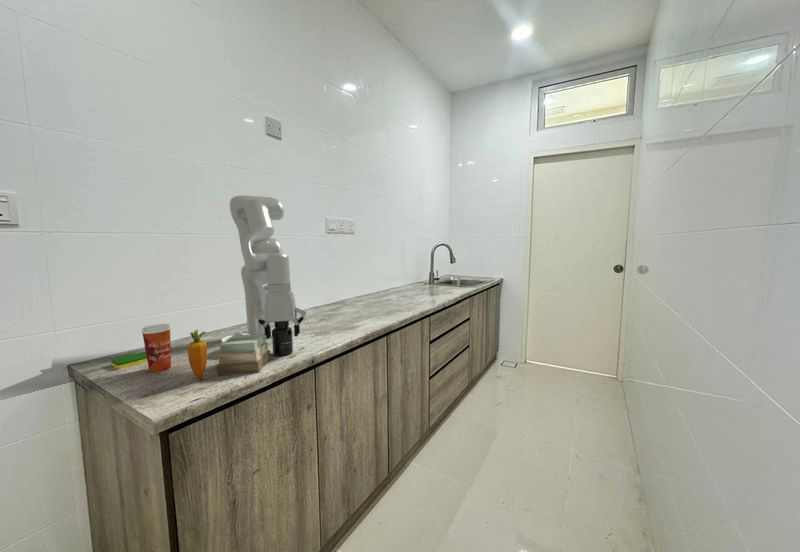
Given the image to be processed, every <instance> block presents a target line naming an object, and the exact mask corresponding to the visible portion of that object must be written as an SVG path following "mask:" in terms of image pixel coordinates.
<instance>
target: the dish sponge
mask: <svg viewBox="0 0 800 552" xmlns="http://www.w3.org/2000/svg"><path fill="white" fill-rule="evenodd" d="M142 363H143V364H146V363H148V361H147V356H146V351H143V352H138V353H135V354H130V355H126V356H123V357H118V358H113V359H111V360H110V364H111V365H112V366H114V367H115V369H116V368H117V369H116V370H118V369H120V370H123V369H122V368H124V369H126V368H125V367H127V368H130V367H129V366H131V367H134V366H133V365H135V366H138V364H139V365H142ZM112 366H111V367H112ZM114 367H113V368H114Z"/></svg>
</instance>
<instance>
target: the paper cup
mask: <svg viewBox="0 0 800 552" xmlns="http://www.w3.org/2000/svg"><path fill="white" fill-rule="evenodd" d="M171 329H172V327H171V325H170V324H169V323H156V324H150V325H147V326H146V325H145V326H144V327H142V330H141V332H140V333H141V334H142V338H143V343H144V349H145V351H144V352H146V356H147V361H148V362H147V366H148V371H149V372H150V373H159V372H164V371H168V370H169V369H171V367H172V351H171V350H172V347H171V346H172V345H171V341H172V340H171Z"/></svg>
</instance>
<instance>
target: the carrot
mask: <svg viewBox="0 0 800 552" xmlns="http://www.w3.org/2000/svg"><path fill="white" fill-rule="evenodd" d="M198 333H199V330H198V329H195V330H194V332H193V331H192V332H190V336H191V338H192V339H193V341H191V342H190V343H188V344H187V347H186V348H187V356H188V362H189V365H190V368H191V372H192V373H193V375H194V376H195V378H196V379H197V380H200V381H201V380H202V378H204V375H205V372H206V368H207V362H208V348H207V345H208V344H207V342H206V341H205V340H201V338H202V336H204V334H206V331H202V332H201V333H200V334H198Z"/></svg>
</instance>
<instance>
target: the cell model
mask: <svg viewBox="0 0 800 552" xmlns="http://www.w3.org/2000/svg"><path fill="white" fill-rule="evenodd" d="M234 335H250V334H246V333H242V332H241V331H235V332H234V333H233V334H231V335H227V336H225V337H223V338H221V344H222V343H223V342H225V341H226V340H228V339H229V338H231V337H232V336H234Z"/></svg>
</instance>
